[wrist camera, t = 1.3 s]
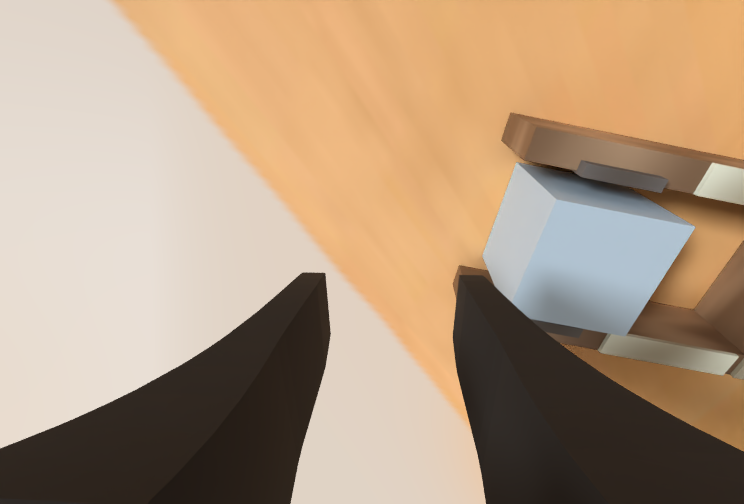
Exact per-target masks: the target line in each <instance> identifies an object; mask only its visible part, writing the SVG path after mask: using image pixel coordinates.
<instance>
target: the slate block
mask: <svg viewBox="0 0 744 504" xmlns="http://www.w3.org/2000/svg"><path fill="white" fill-rule="evenodd" d="M694 229H695V226H693V225H692V224H690V223H688V222H686V221H685V220H683V219H681V218H680V217H678V216H676V215H675V214H673V213H671V212H669V211H668V210H666V209H664V208H663V207H661V206H659V205H658V204H656V203H654V202H653V201H651V200H649V199H647V198H646V197H644V196H642V195H641V194H639V193H637V192H636V191H634V190H632V189H630V188H629V187H627V186H623V185H618V184H613V183H608V182H603V181H598V180H593V179H588V178H583V177H580V176H579V175H577V174H573V173H568V172H563V171H558V170H553V169H548V168H543V167H538V166H533V165H528V164H523V163H518V162H516V165H515V168H514V170H513V173H512V176H511V179H510V181H509V184H508V187H507V190H506V192H505V195H504V198H503V201H502V203H501V206H500V209H499V211H498V214H497V217H496V220H495V222H494V225H493V228H492V231H491V233H490V236H489V239H488V242H487V244H486V247H485V250H484V253H483V255H482V256H483V259H484V261H485V264H486V266H487V269H488V271H489V273H490V276H491V278H492V281H493V283H494V286H495V287H496V288H497V289H498V290H499V291H500V292H501V293H502V294H503V295H504V296H505V297H506V298H507V299H509V300H510V301H511V302H512V303H513V304H514V305H515V306H516V307H517V308H518V309H519V310H520V311H521V312H523V313H524V314H525V315H526V316H527V317H528V318H529V319H533V320H539V321H544V322H550V323H555V324H560V325H566V326H571V327H576V328H582V329H587V330H592V331H598V332H603V333H608V334H614V335H619V336H626V335H627V333H628V332H629V330H630V328H631V327H632V325H633V324H634V322H635V321H636V319H637V318H638V316H639V314H640V313H641V311H642V310H643V308H644V307H645V305H646V304H647V302H648V300H649V299H650V297H651V296H652V294H653V293H654V291H655V290H656V288H657V286H658V285H659V283H660V282H661V280H662V279H663V277H664V276H665V274H666V272H667V271H668V269H669V268H670V266H671V265H672V263H673V262H674V260H675V258H676V257H677V255H678V254H679V252H680V251H681V249H682V248H683V246H684V244H685V243H686V241H687V240H688V238H689V237H690V235H691V234H692V232H693V230H694Z"/></svg>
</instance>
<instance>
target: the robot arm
mask: <svg viewBox="0 0 744 504" xmlns="http://www.w3.org/2000/svg"><path fill="white" fill-rule="evenodd" d="M330 334H331V333H330V322H329V310H328V299H327V288H326V276H325V273H302V274H300V275H299V276H298V277H297V278H296V279H295V280H293V281H292V282H291V283H290V284H289V285H288V286H287V287H286V288H284V289H283V290H282V291H281V292H280V293H279V294H278V295H276V296H275V297H274V298H273V299H272V300H271V301H270V302H268V303H267V304H266V305H265V306H264V307H263V308H261V309H260V310H259V311H258V312H257V313H255V314H254V315H253V316H252V317H250V318H249V319H247V320H246V321H245V322H244V323H242V324H241V325H240V326H238V327H237V328H236V329H234V330H233V331H232V332H231V333H229V334H228V335H227V336H225V337H224V338H222V339H221V340H220V341H218V342H217V343H215V344H214V345H212V346H211V347H209V348H208V349H206V350H205V351H203V352H201V353H200V354H198V355H197V356H195V357H193V358H192V359H190V360H189V361H187V362H185V363H184V364H182V365H180V366H179V367H177V368H175V369H173V370H171V371H169V372H168V373H166V374H164V375H162V376H160V377H159V378H157V379H155V380H153V381H151V382H150V383H148V384H146V385H144V386H142V387H141V388H138V389H137V390H135V391H133V392H131V393H129V394H127V395H124V396H123V397H120V398H118V399H116V400H114V401H113V402H110V403H108V404H106V405H104V406H101V407H99V408H97V409H95V410H93V411H91V412H88V413H86V414H84V415H82V416H79V417H77V418H75V419H73V420H70V421H68V422H66V423H63V424H61V425H59V426H56V427H54V428H51V429H49V430H46V431H44V432H41V433H39V434H36V435H34V436H31V437H28V438H26V439H24V440H21V441H19V442H16V443H13V444H11V445H8V446H6V447H3V448H1V449H0V504H290V503H291V498H292V492H293V487H294V482H295V477H296V472H297V466H298V462H299V458H300V454H301V449H302V446H303V442H304V439H305V435H306V432H307V429H308V425H309V422H310V418H311V415H312V411H313V408H314V404H315V401H316V397H317V394H318V391H319V387H320V384H321V380H322V377H323V374H324V370H325V366H326V360H327V354H328V348H329V341H330ZM453 343H454V352H455V360H456V368H457V374H458V378H459V382H460V386H461V390H462V394H463V398H464V402H465V406H466V410H467V414H468V418H469V422H470V426H471V430H472V434H473V438H474V442H475V446H476V450H477V454H478V459H479V463H480V468H481V473H482V479H483V486H484V493H485V499H486V504H744V452H743V451H741V450H739V449H737V448H735V447H733V446H731V445H729V444H727V443H725V442H723V441H721V440H719V439H717V438H715V437H713V436H711V435H709V434H707V433H705V432H703V431H701V430H699V429H697V428H695V427H693V426H691V425H689V424H688V423H686V422H684V421H682V420H680V419H678V418H676V417H675V416H673V415H671V414H669V413H667V412H665V411H663V410H662V409H660V408H658V407H656V406H655V405H653V404H651V403H650V402H648V401H646V400H644V399H643V398H641V397H639V396H638V395H636V394H634V393H632V392H631V391H629V390H627V389H626V388H624V387H622V386H621V385H619V384H618V383H616V382H614V381H613V380H611V379H610V378H608V377H606V376H605V375H604V374H602V373H601V372H599V371H598V370H596V369H595V368H593V367H592V366H590V365H589V364H587V363H586V362H584V361H583V360H581V359H580V358H578V357H577V356H576V355H574V354H573V353H572V352H570V351H569V350H568V349H566V348H565V347H564V346H562V345H561V344H560V343H559V342H557V341H556V340H555V339H553V338H552V337H551V336H550V335H548V334H547V333H546V332H545V331H543V330H542V329H541V328H540V327H539V326H537V325H536V324H535V323H534V322H533V321H532V320H530V319H529V318H528V317H527V316H526V315H525V314H524V313H523V312H521V311H520V310H519V309H518V308H517V307H516V306H515V305H514V304H513V303H512V302H511V301H510V300H509V299H507V298H506V297H505V296H504V295H503V294H502V293H501V292H500V291H499V290H498V289H497V288H496V287H495V286H494V285H493V284H492V283H491V282H490V281H489V280H488V279H487V278H486V277H484V276H483V275H459V281H458V290H457V300H456V310H455V320H454V330H453Z"/></svg>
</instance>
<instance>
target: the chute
mask: <svg viewBox="0 0 744 504" xmlns="http://www.w3.org/2000/svg"><path fill="white" fill-rule="evenodd" d="M501 141H503V142H504V143H505V144H506V145H507V146H508V147H509V148H511V149H512V150H513V151H514V152H515V153H516V154H518V155H519V156H520V157H521V158H522V159H523V160H526V161H531V162H536V163H541V164H546V165H551V166H556V167H561V168H566V169H570V170H572V171H573V172H574V173H576V174H577V175H579V176H580V177H583V178H588V179H593V180H598V181H603V182H608V183H613V184H618V185H623V186H628V187H633V188H638V189H643V190H648V191H653V192H658V193H662V191H663V189H664V188H666V189H671V190H676V191H681V192H686V193H691V194H694V195H696V196H701V197H706V198H711V199H716V200H721V201H726V202H731V203H736V204H741V205H744V160H740V159H735V158H730V157H726V156H721V155H716V154H711V153H706V152H701V151H696V150H691V149H686V148H681V147H676V146H672V145H667V144H662V143H657V142H652V141H647V140H642V139H637V138H632V137H627V136H623V135H618V134H613V133H608V132H603V131H598V130H593V129H588V128H583V127H578V126H573V125H569V124H564V123H559V122H554V121H549V120H544V119H539V118H534V117H529V116H524V115H520V114H515V113H510V116H509V119H508V122H507V125H506V128H505V131H504V134H503V137H502V140H501ZM459 275H483V276H484V277H486V278H487V279H488V280H489V281H490V282H491V283H492V284H493V285H494V283H493V281H492V278H491V276H490V273H489V271H486V270H481V269H475V268H470V267H465V266H460V265H459V267H458V270H457V273H456V276H455V279H454V282H453V287H454V291H455V295H456V300H457V290H458V281H459ZM530 320H532V321H533V322H534V323H535V324H536V325H537V326H539V327H540V328H541V329H542V330H543V331H545V332H546V333H547V334H548V335H550V336H551V337H552V338H553V339H555V340H556V341H557V342H559V343H563V344H568V345H574V346H579V347H585V348H590V349H595V350H598V351H599V353H603V354H608V355H614V356H619V357H625V358H630V359H635V360H641V361H646V362H652V363H657V364H662V365H668V366H673V367H679V368H684V369H689V370H695V371H700V372H706V373H711V374H717V375H722V376H723V375H724V374H730V375H731V376H732V377H733V378H738V379H744V241H743V243H742V244H741V245H740V247H739V248H738V249H737V251H736V252H735V254H734V255H733V256H732V258H731V259H730V261H729V262H728V263H727V265H726V266H725V267H724V269H723V270H722V272H721V273H720V274H719V276H718V277H717V279H716V280H715V281H714V283H713V284H712V285H711V287H710V288H709V290H708V291H707V292H706V294H705V295H704V297H703V298H702V299H701V301H700V302H699V303H698V305H697V306H696V308H695V309H694V310H691V309H686V308H681V307H675V306H670V305H665V304H660V303H654V302H649V301H648V302H647V304H646V305H645V307H644V308H643V310H642V311H641V313H640V314H639V316H638V318H637V319H636V321H635V322H634V324H633V325H632V327H631V328H630V330H629V332H628V333H627V335H626V336H619V335H614V334H608V333H603V332H598V331H592V330H587V329H582V328H576V327H571V326H566V325H560V324H555V323H550V322H544V321H539V320H533V319H530Z"/></svg>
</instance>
